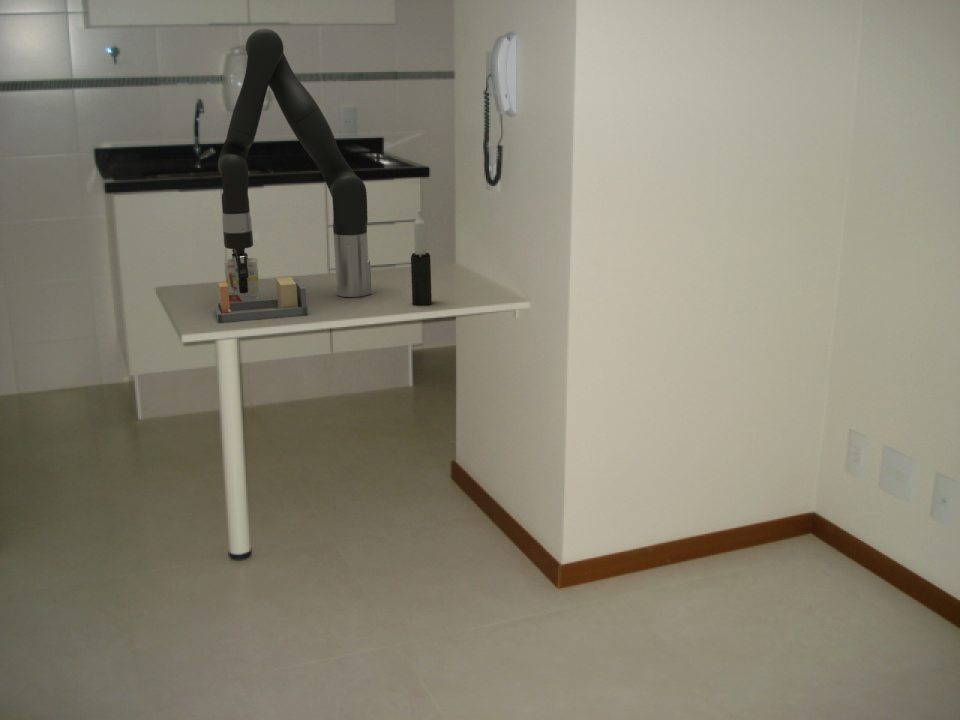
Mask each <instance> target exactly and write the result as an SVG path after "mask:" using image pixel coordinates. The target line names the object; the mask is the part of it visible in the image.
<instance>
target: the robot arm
mask: <svg viewBox="0 0 960 720" xmlns="http://www.w3.org/2000/svg"><path fill="white" fill-rule="evenodd" d="M245 53H246V56H247V61H246V66H245V67H246V69H245V73H244V74H245V75H244V78H243V81H242V84H241V88H240V91H239V94H238V96H237V99H236V102H235V105H234V107H233V111H232V114H231V119H230V121H229V125H228V128H227V135H226V139H225V141H224V143H223V146H222V148H221V150H220V154H219V156H218V160H217V170H218V173H219V174H220V175H221V183H222V193H221V205H222V207H221V208H222V209H221V210H222V232H223V243H224V244H223V245H224V246H223V247H224V248H226V249H229V250H231V251H232V253H231V259H232V260H233V262H234V264H235V271H236V272H237V273H238V280H239V291H240V293H248V283H247V279H248V277H249V275H248V258H249V256H248V254H247V252H246V251H245V250H246V249H249V248H252V247H253V246H254V237H253V224H252V217H251V211H250V199H249V167H248V163H247V158H248V154H249V151H250V148H251V146H253V144H254V142H255V138H256V135H257V132H258V127H259V124H260V120H261V116H262V111H263V107H264V104H265V99H266V95H267V91H268V88H270V90H271V92H272V93H273V95H274V97H275V100H276V102H277V104H278V106H279V109H280V111H281V112H282V115H283V116H284V118H285V119H286V122H287V124H288V125H289V127H290V129H291V130H292V132H293V134H294V135H295V138H296V139H297V140H298V141H299V143H300V145H301V147H303V149H304V150H305V152H306V153H307V154H308V155H309V157H310V159H312V160H313V162H314V163H315V164H316V166H317V168H318V169H319V171H320V174H321V175H322V177H323V179H324V181H325V184H326V186H327V188H328V191H329V193H330V196H331V198H332V213H333V214H332V215H333V216H332V217H333V219H332V220H333V222H332V230H333V248H334V267H335V268H334V269H335V284H336V286H335V287H336V295H337V296H338V297H344V298H358V297H364V296H369V295H372V293H373V292H372V291H373V290H372V275H371V274H372V273H371V271H372V270H371V260H370V259H369V248H368V247H369V246H368V243H369V242H368V220H369V219H368V197H367V196H368V195H367V187H366V185H365V183H364V181H363V180H362V179H361V178H360V177H358V175H357V174H356V173H355V172H354V170H353V169H352V168H351V166H350V164H349V163H348V162H347V160H346V159H345V158H344V155H343V154H342V152H341V150H340V149H339V146H338V143H337V141H336V138H335V136H334V134H333V131H332V129H331V127H330V125H329V122H328V120H327V119H326V117H325V114H323V111H322V110H321V108H320V107H319V105H318V104H317V102H316V100H315V99H314V98H313V96H312V95H311V93H310V92H309V91H308V89H307V88H305V86H304V84H302V83H301V81H300V80H299V78H298V77H297V76H296V74H295V73H294V71H293V69H292V68H291V66H290V64H289V62H288V60H287V57H286V55H285V53H284V43H283V40H282V38H281V36H280V35H279V34H278V33H277V32H275V30H272V29H269V28H260V29H256V30H255V31H253V32H251V34H250V35H249V36H248V38H247V39H246V42H245ZM236 262H237V263H236ZM237 266H238V267H237ZM240 272H245V274H240Z"/></svg>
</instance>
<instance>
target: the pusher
mask: <svg viewBox="0 0 960 720" xmlns="http://www.w3.org/2000/svg"><path fill="white" fill-rule="evenodd" d="M218 292H219V294H218V295H219V303H220V306H221V314H226V313H232V311H231V310H230V303H229V292H228V285H227V283H226V281H224V282H218Z"/></svg>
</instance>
